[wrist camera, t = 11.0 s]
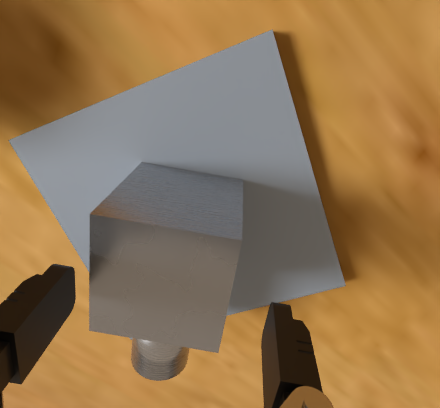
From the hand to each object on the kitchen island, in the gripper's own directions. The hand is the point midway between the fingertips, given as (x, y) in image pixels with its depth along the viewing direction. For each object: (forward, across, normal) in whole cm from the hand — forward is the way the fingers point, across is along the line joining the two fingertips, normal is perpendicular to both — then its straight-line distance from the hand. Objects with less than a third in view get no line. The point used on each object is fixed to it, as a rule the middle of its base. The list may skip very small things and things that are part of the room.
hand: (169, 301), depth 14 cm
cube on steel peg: (+8, +1, +2) cm, 8 cm away
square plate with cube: (+9, +1, 0) cm, 9 cm away
